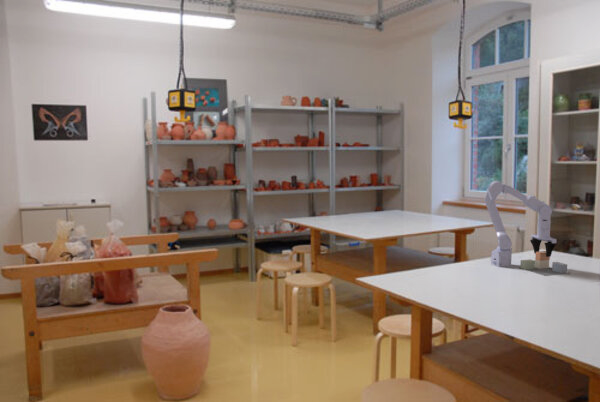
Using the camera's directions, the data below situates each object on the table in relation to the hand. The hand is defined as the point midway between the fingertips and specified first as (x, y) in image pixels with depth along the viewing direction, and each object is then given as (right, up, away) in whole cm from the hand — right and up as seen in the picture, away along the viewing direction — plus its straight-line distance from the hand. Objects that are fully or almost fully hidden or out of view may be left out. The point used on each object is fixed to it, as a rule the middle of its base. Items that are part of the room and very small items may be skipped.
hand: (542, 255), depth 248 cm
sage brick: (-8, -7, -1) cm, 10 cm away
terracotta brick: (0, -2, 0) cm, 2 cm away
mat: (-2, -8, -6) cm, 10 cm away
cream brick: (0, -6, +1) cm, 6 cm away
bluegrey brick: (+5, -7, -7) cm, 11 cm away
